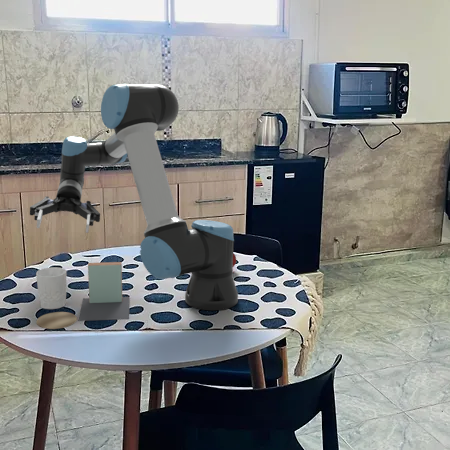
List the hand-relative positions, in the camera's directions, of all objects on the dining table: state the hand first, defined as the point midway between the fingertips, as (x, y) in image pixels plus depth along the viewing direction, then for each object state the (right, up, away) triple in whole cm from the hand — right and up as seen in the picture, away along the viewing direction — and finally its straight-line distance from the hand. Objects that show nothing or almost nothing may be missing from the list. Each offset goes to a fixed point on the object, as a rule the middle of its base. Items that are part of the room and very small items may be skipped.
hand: (62, 226), depth 168 cm
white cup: (-1, -22, -6) cm, 23 cm away
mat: (+14, -23, -8) cm, 28 cm away
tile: (+13, -21, -3) cm, 25 cm away
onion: (+47, -15, +27) cm, 56 cm away
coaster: (+3, -25, -16) cm, 30 cm away
